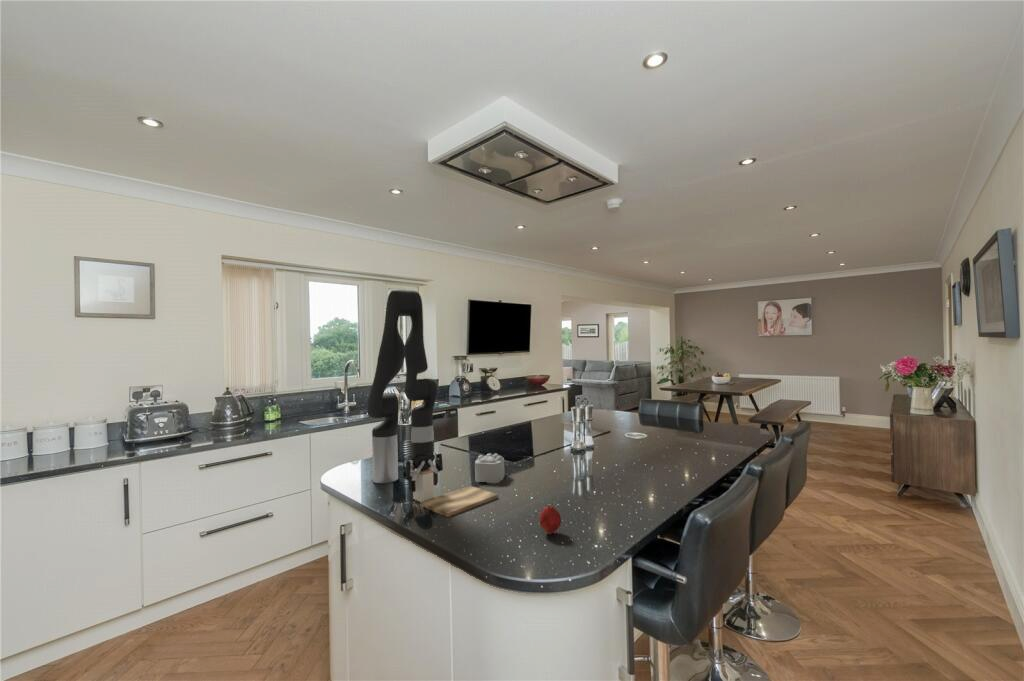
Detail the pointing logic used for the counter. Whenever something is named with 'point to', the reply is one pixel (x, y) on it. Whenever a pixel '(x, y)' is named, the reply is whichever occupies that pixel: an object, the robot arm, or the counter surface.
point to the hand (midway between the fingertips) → (423, 488)
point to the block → (424, 486)
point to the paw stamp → (489, 468)
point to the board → (458, 501)
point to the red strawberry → (550, 519)
